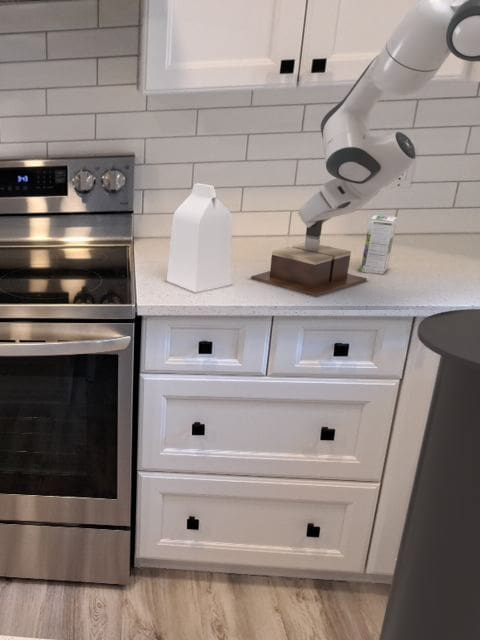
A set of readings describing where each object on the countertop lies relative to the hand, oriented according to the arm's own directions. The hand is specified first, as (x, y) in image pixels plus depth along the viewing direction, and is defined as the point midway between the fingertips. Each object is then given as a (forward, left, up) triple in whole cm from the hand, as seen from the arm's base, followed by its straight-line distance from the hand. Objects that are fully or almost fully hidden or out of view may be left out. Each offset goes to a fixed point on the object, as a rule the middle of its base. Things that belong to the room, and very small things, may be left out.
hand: (312, 224), depth 177 cm
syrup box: (-2, -21, -15) cm, 26 cm away
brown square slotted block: (-1, 0, -15) cm, 15 cm away
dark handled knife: (-1, 0, -11) cm, 11 cm away
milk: (+10, +26, -15) cm, 32 cm away
